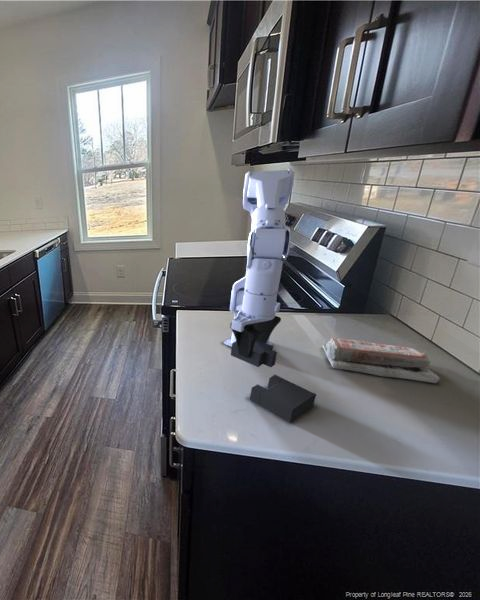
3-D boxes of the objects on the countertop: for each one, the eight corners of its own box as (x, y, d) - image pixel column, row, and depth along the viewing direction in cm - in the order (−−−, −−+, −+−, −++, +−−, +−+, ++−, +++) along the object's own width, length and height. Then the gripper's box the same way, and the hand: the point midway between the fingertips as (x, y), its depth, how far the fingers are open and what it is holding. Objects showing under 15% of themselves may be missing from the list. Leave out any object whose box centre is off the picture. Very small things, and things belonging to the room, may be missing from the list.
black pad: (272, 386, 69) (275, 374, 68) (313, 406, 62) (316, 394, 61) (249, 399, 65) (251, 387, 64) (289, 422, 59) (292, 409, 57)
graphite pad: (243, 347, 71) (245, 335, 70) (279, 361, 65) (281, 349, 64) (230, 355, 68) (232, 343, 67) (266, 370, 62) (268, 357, 61)
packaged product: (336, 351, 71) (325, 331, 80) (331, 369, 73) (321, 348, 81) (446, 365, 64) (421, 342, 72) (438, 385, 66) (414, 360, 74)
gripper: (259, 278, 69) (251, 333, 74) (220, 294, 61) (213, 355, 66) (295, 285, 63) (283, 345, 68) (256, 304, 56) (246, 369, 61)
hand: (251, 351), depth 67 cm, fingers closed on graphite pad, 5 cm apart
